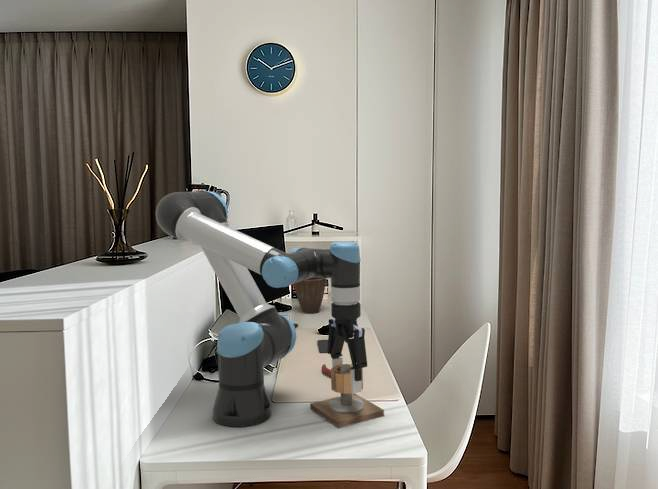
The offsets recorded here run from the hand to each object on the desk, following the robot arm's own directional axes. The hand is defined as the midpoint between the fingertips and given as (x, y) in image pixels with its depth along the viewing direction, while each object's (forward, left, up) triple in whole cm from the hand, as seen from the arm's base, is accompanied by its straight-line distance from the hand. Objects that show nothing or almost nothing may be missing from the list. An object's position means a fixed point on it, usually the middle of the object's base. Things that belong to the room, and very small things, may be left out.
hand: (346, 386), depth 153 cm
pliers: (+12, +23, -8) cm, 27 cm away
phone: (+26, +53, -7) cm, 60 cm away
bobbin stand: (0, 0, -7) cm, 7 cm away
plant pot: (+47, +104, -7) cm, 114 cm away
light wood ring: (0, 0, 0) cm, 0 cm away
